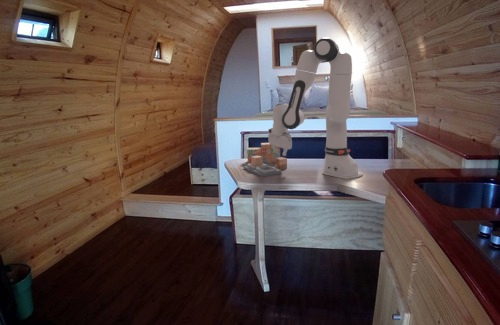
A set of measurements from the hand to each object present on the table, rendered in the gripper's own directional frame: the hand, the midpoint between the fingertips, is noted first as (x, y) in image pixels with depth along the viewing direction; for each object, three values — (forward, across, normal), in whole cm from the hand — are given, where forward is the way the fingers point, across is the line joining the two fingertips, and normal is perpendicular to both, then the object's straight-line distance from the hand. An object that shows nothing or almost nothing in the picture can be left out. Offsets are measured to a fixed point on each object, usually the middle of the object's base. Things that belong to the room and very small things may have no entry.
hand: (279, 154), depth 188 cm
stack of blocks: (+9, +19, 0) cm, 21 cm away
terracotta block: (+8, -1, -1) cm, 9 cm away
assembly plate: (+9, 0, +12) cm, 15 cm away
